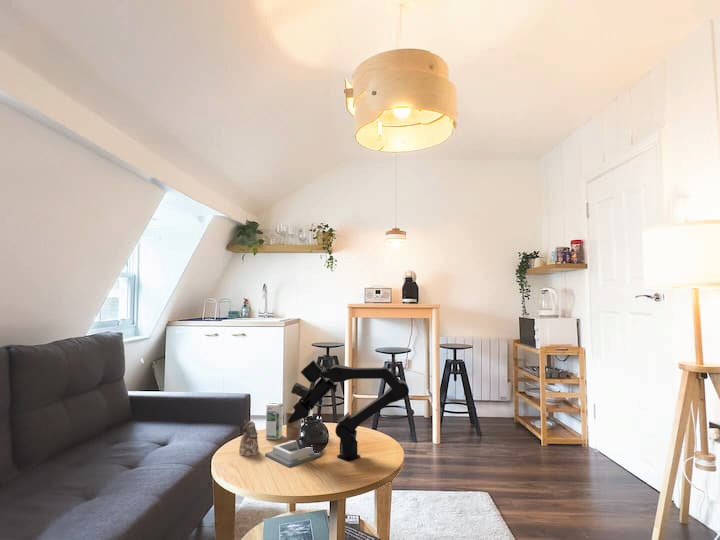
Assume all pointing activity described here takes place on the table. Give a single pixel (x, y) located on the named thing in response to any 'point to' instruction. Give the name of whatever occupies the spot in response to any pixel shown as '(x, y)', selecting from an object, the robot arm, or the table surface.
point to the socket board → (291, 454)
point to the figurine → (249, 440)
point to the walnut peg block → (293, 428)
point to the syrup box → (274, 420)
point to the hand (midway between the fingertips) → (290, 420)
